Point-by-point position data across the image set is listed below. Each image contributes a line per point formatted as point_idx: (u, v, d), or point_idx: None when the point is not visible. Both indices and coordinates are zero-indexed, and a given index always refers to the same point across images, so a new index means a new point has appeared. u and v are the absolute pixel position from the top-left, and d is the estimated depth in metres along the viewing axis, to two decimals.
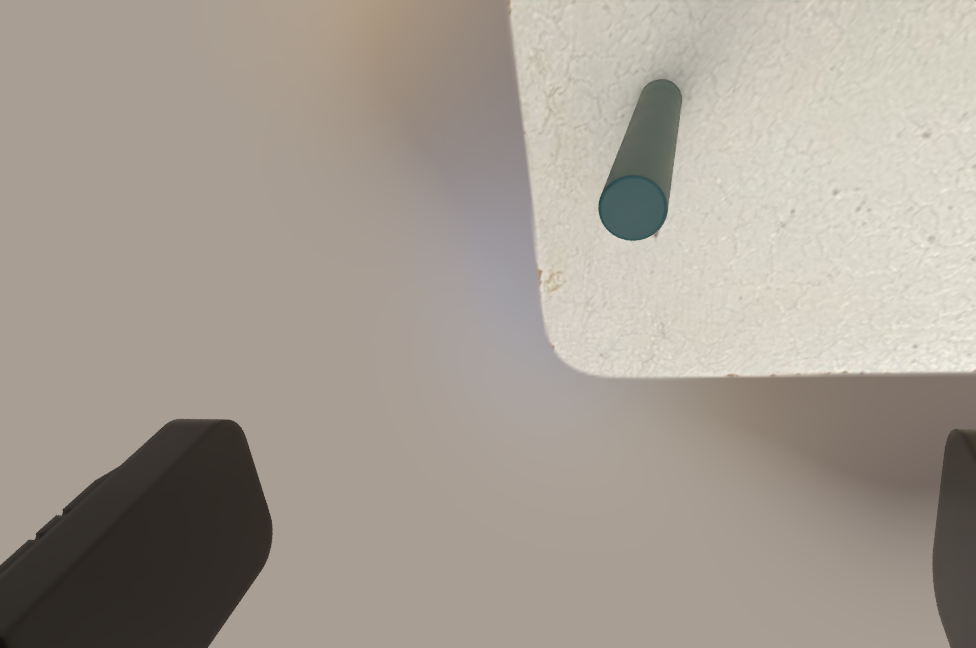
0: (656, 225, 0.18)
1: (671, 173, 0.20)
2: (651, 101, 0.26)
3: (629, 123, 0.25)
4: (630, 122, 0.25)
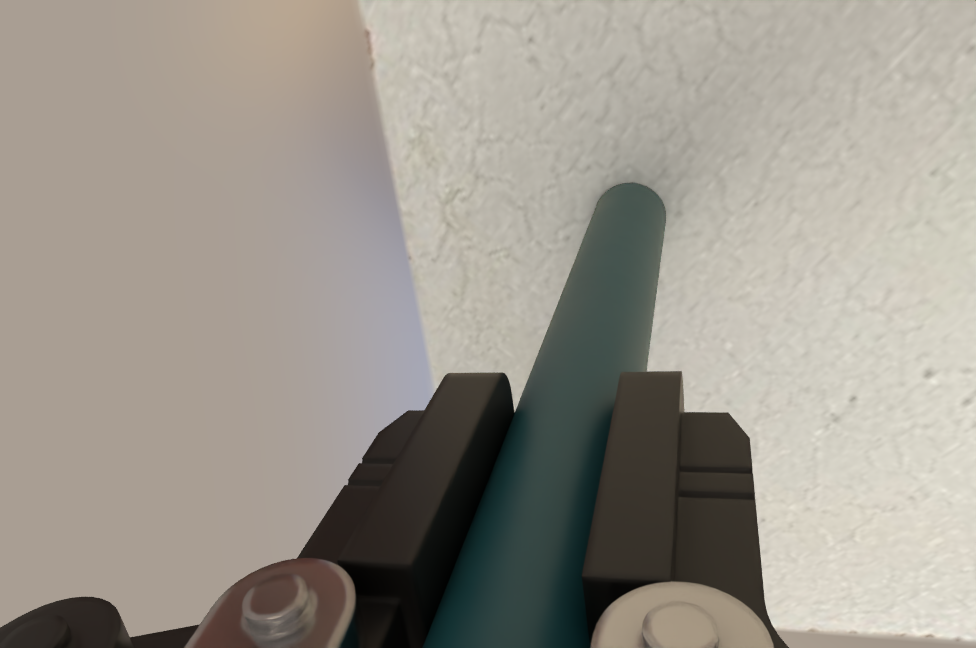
0: None
1: None
2: (602, 255, 0.14)
3: None
4: (555, 312, 0.12)
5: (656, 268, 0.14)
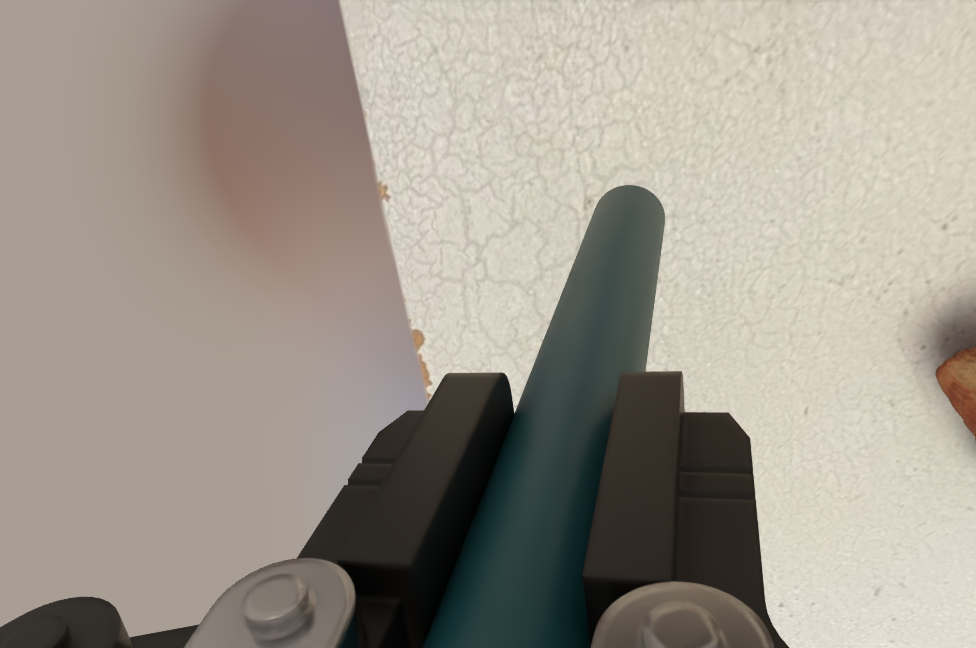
0: None
1: None
2: (601, 257, 0.14)
3: (554, 312, 0.13)
4: (554, 315, 0.12)
5: (655, 270, 0.14)
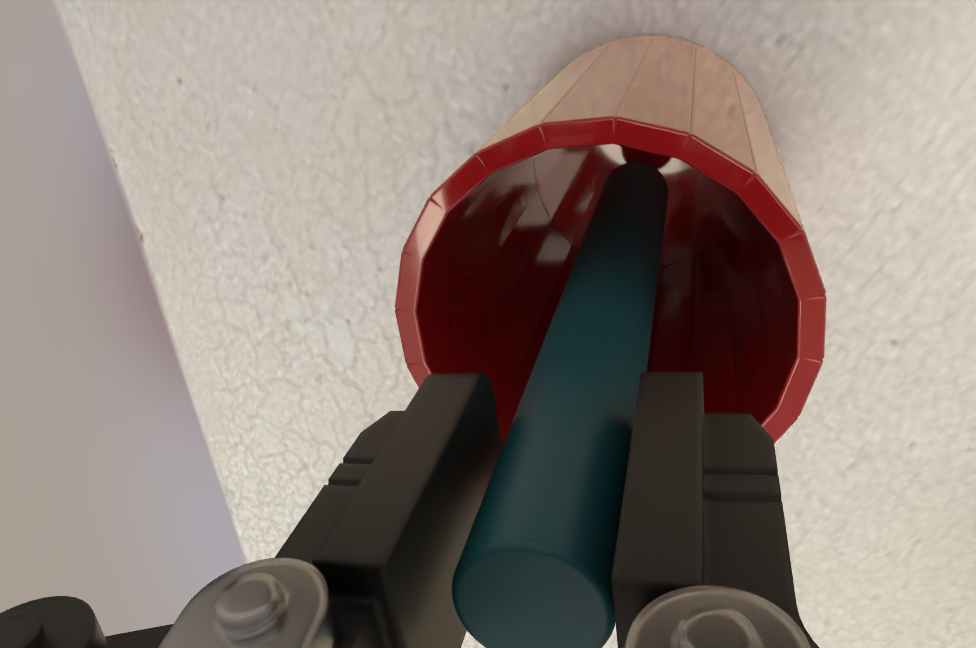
0: None
1: None
2: (613, 219, 0.15)
3: None
4: (573, 267, 0.14)
5: (660, 233, 0.16)
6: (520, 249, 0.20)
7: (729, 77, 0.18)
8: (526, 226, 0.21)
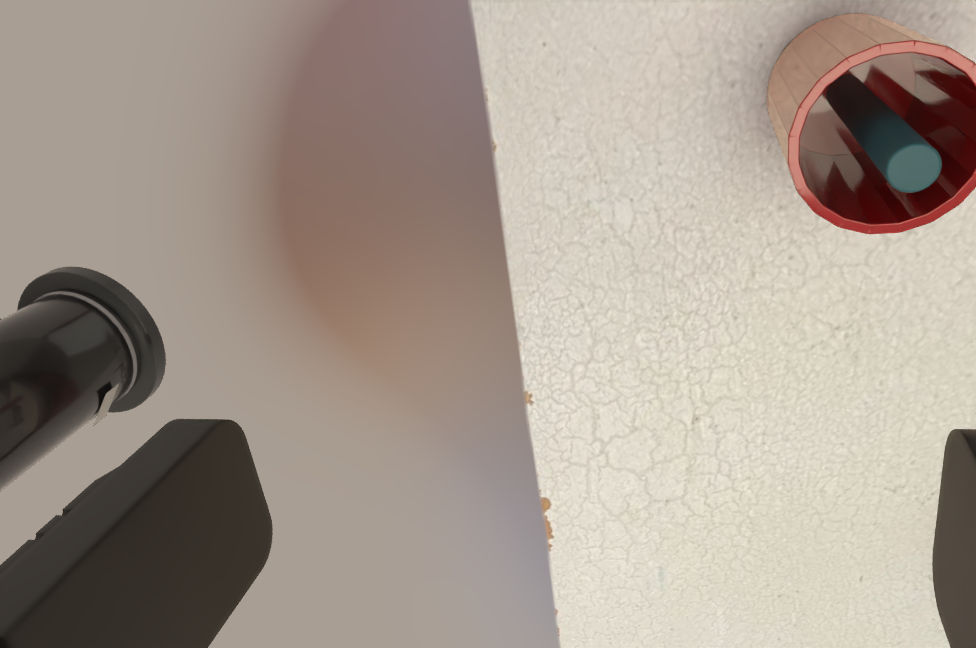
0: (931, 180, 0.25)
1: None
2: (861, 92, 0.33)
3: (849, 109, 0.32)
4: (852, 108, 0.31)
5: None
6: None
7: None
8: None
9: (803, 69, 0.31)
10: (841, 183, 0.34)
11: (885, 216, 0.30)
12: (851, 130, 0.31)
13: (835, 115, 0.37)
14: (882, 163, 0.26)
